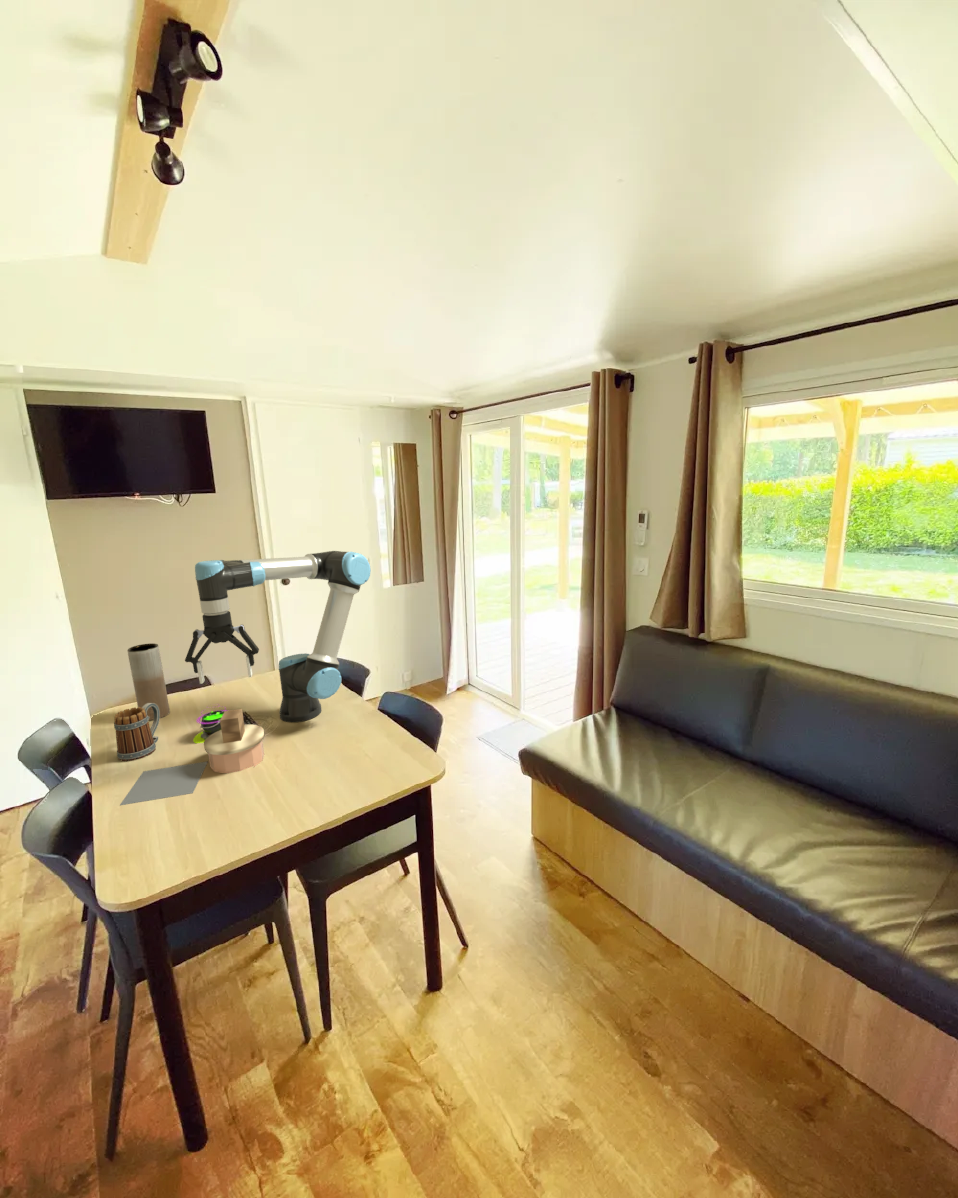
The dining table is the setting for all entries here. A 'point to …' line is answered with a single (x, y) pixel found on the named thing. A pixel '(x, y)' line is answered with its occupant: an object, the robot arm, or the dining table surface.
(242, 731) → the lid
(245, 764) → the bowl
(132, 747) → the mug
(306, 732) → the dining table surface
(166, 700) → the vase
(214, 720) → the toy cauldron
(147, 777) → the mat
